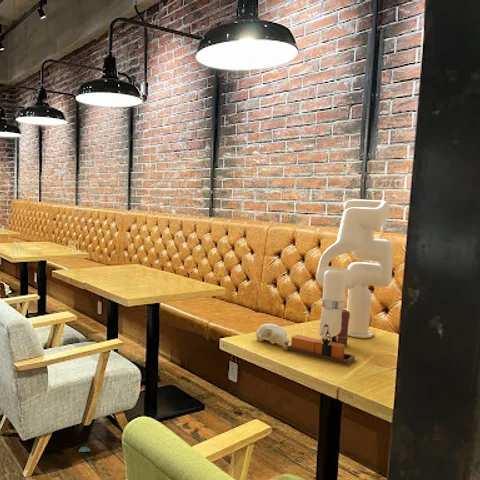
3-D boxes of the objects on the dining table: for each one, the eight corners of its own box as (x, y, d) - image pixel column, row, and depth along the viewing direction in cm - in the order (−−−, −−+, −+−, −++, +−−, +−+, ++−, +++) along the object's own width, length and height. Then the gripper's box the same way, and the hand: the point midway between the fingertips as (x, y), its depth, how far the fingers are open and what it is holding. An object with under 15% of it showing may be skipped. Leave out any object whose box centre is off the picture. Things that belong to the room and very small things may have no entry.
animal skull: (273, 352, 180) (270, 325, 182) (253, 349, 196) (250, 324, 197) (297, 349, 183) (294, 322, 185) (276, 346, 199) (273, 321, 200)
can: (348, 347, 190) (351, 312, 189) (331, 346, 192) (334, 311, 190) (346, 343, 196) (348, 309, 195) (329, 341, 198) (332, 308, 196)
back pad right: (319, 352, 181) (320, 338, 181) (343, 357, 176) (344, 344, 175) (314, 355, 177) (315, 341, 177) (339, 361, 172) (340, 347, 171)
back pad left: (296, 347, 187) (297, 334, 187) (319, 352, 181) (319, 339, 181) (290, 349, 183) (291, 337, 183) (313, 355, 178) (314, 342, 177)
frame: (296, 347, 189) (296, 342, 189) (354, 361, 175) (354, 355, 175) (287, 351, 182) (287, 346, 182) (346, 366, 168) (347, 361, 168)
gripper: (331, 299, 184) (327, 346, 185) (313, 306, 171) (310, 356, 172) (351, 302, 179) (347, 351, 181) (334, 309, 166) (331, 361, 167)
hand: (329, 353), depth 176 cm, fingers closed on back pad right, 4 cm apart
